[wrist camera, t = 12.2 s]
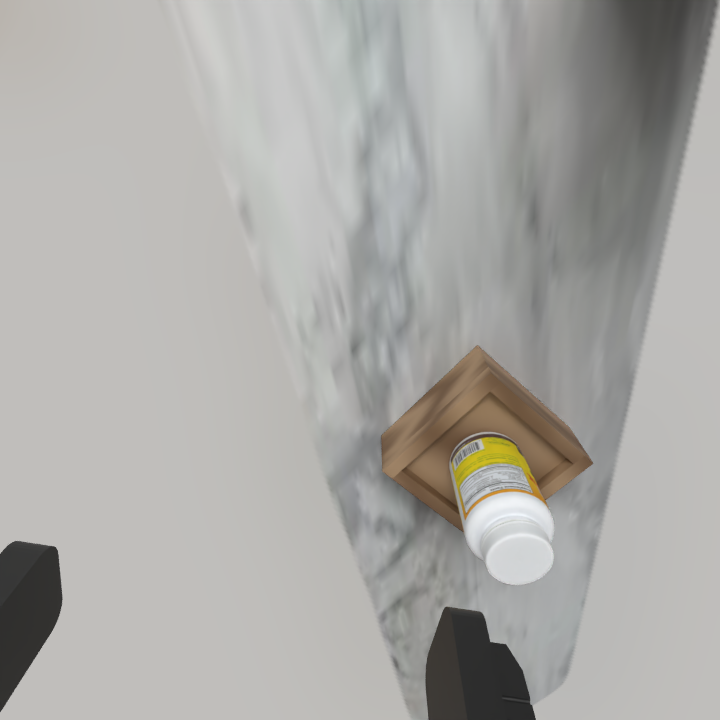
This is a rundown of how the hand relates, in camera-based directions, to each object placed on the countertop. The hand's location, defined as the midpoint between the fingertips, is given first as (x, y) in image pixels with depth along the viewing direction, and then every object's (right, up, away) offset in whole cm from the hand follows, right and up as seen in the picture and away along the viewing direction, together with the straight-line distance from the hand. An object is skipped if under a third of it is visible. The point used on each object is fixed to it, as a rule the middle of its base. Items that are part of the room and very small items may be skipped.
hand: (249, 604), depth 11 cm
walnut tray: (+12, -1, +32) cm, 34 cm away
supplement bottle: (+12, -2, +29) cm, 31 cm away
